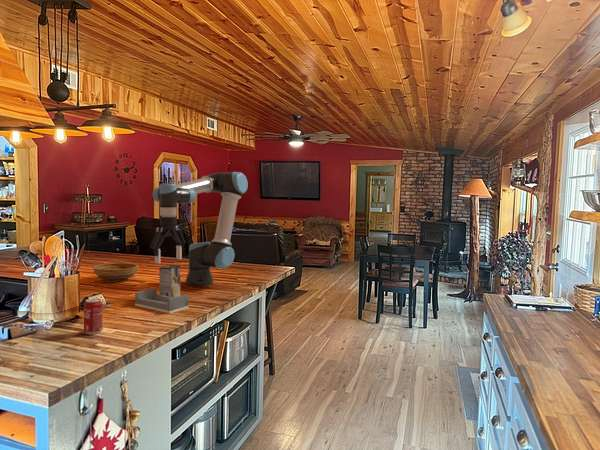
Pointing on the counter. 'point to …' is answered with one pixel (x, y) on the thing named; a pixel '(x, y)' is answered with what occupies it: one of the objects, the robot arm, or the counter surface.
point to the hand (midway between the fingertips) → (168, 261)
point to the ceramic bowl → (115, 271)
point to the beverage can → (93, 316)
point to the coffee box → (170, 280)
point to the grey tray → (161, 301)
